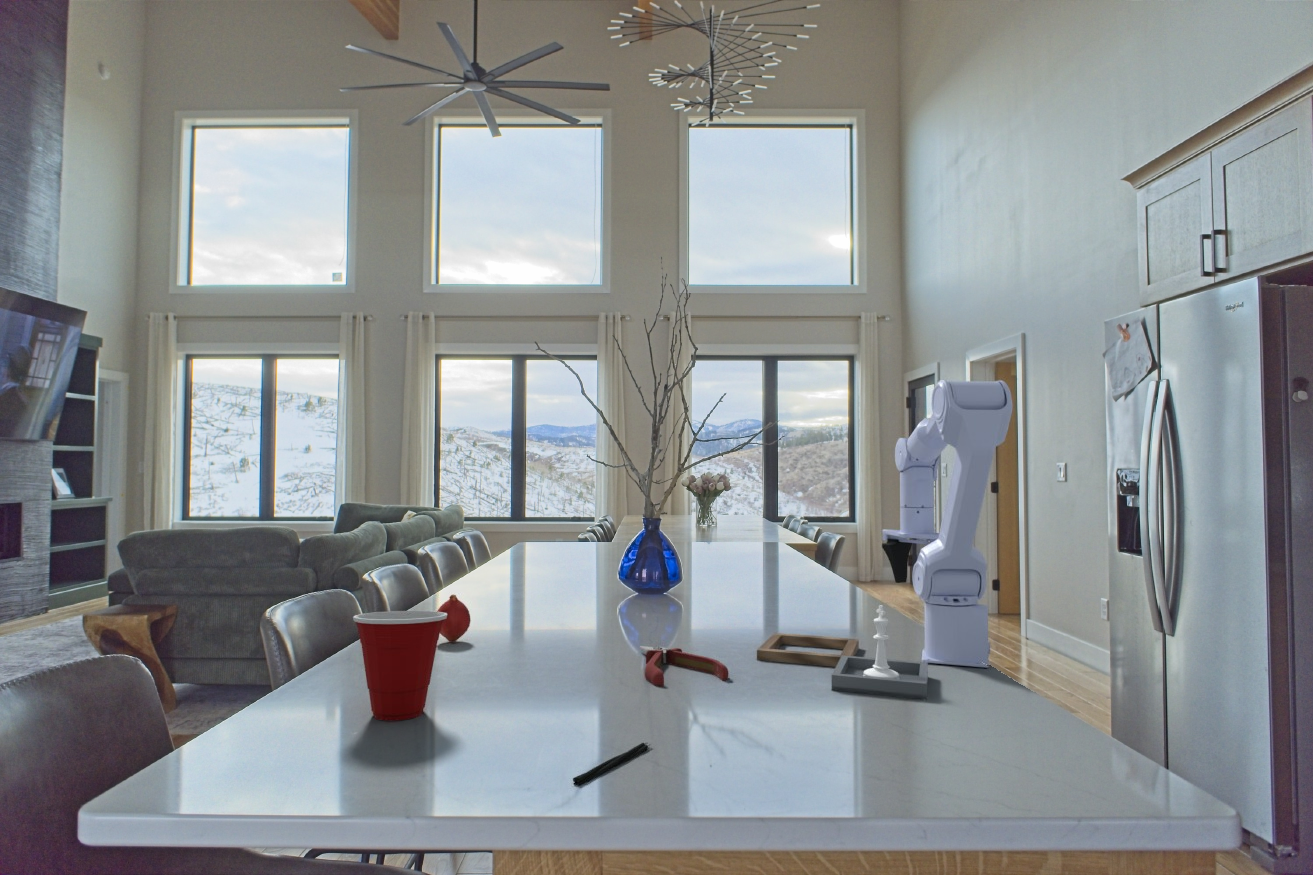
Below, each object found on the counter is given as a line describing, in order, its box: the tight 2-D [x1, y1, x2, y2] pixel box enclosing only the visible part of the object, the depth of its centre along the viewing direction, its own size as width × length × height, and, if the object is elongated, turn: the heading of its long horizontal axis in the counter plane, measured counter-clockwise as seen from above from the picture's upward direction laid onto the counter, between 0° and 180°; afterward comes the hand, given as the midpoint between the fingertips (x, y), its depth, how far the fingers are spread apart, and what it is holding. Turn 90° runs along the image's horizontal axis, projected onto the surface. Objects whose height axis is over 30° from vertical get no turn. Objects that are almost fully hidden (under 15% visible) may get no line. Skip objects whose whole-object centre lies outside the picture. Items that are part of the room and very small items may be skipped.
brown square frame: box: [756, 632, 860, 668], centre depth 127 cm, size 14×14×2 cm
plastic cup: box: [352, 610, 447, 722], centre depth 95 cm, size 11×11×12 cm
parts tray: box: [831, 655, 929, 700], centre depth 110 cm, size 12×12×2 cm
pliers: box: [639, 645, 729, 687], centre depth 118 cm, size 12×20×3 cm, turn 19°
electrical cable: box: [572, 741, 652, 787], centre depth 79 cm, size 12×1×1 cm, turn 147°
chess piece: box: [863, 604, 900, 679], centre depth 111 cm, size 5×5×10 cm
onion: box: [436, 594, 472, 643], centre depth 134 cm, size 6×6×8 cm
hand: (917, 585), depth 139 cm, fingers open, 7 cm apart
